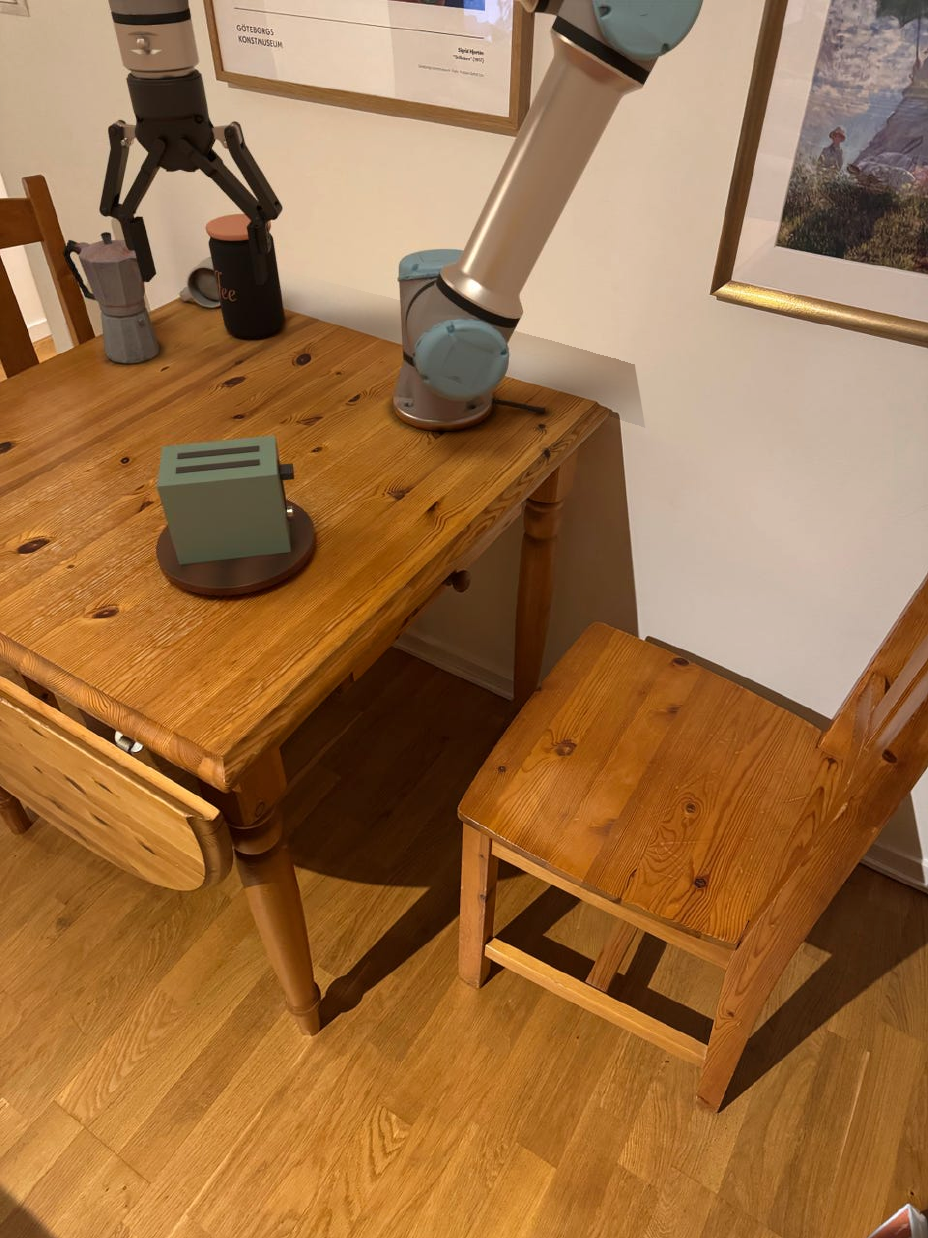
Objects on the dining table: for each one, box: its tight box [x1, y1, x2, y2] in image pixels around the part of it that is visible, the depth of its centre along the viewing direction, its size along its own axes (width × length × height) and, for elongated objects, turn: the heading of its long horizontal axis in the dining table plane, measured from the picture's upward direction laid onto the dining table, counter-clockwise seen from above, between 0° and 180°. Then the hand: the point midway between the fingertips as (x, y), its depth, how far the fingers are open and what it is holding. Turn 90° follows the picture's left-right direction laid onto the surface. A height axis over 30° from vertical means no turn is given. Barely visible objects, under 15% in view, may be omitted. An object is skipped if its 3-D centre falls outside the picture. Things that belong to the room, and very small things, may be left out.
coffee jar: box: [205, 213, 286, 341], centre depth 148 cm, size 11×11×18 cm
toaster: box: [155, 435, 316, 596], centre depth 102 cm, size 19×19×12 cm
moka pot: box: [62, 231, 161, 364], centre depth 141 cm, size 10×15×20 cm, turn 78°
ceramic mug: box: [178, 256, 221, 309], centre depth 162 cm, size 11×8×8 cm
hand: (205, 279), depth 102 cm, fingers open, 13 cm apart
